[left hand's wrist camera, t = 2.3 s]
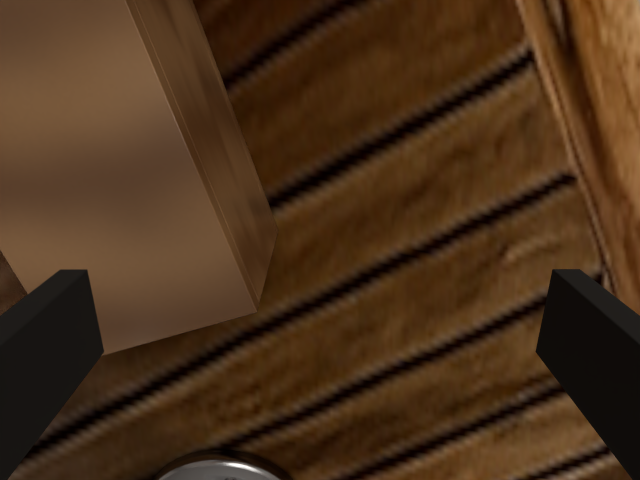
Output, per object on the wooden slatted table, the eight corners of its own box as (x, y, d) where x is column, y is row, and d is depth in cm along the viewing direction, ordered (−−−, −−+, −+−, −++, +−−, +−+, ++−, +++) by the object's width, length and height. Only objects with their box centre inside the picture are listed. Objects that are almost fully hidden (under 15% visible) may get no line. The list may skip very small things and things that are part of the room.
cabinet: (27, 21, 28) (-161, -7, 17) (178, -37, 27) (80, -107, 16) (151, 269, 34) (71, 364, 23) (278, 230, 33) (257, 312, 22)
